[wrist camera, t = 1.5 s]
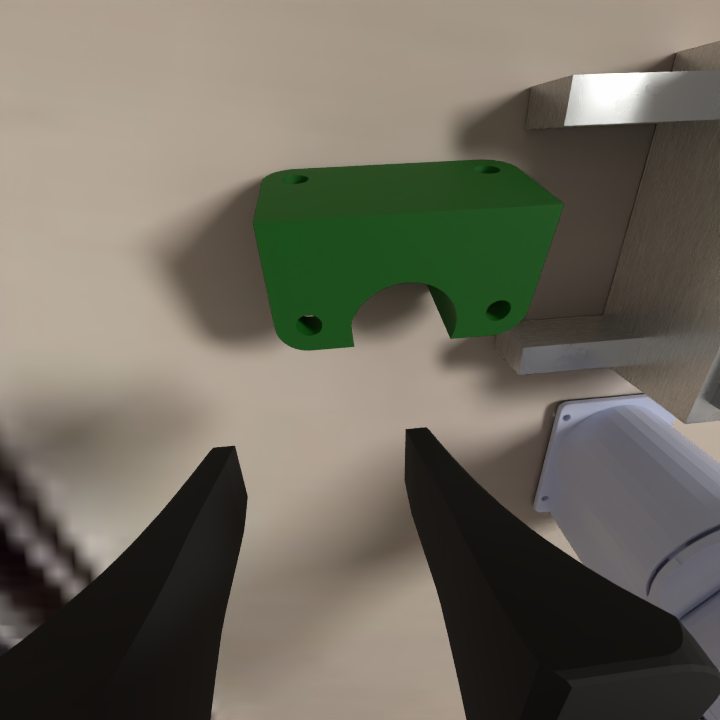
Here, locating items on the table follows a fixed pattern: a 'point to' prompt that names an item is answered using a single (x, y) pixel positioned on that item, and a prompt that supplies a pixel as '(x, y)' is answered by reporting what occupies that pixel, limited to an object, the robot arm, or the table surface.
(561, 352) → the motor housing
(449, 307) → the clamp
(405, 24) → the table surface
